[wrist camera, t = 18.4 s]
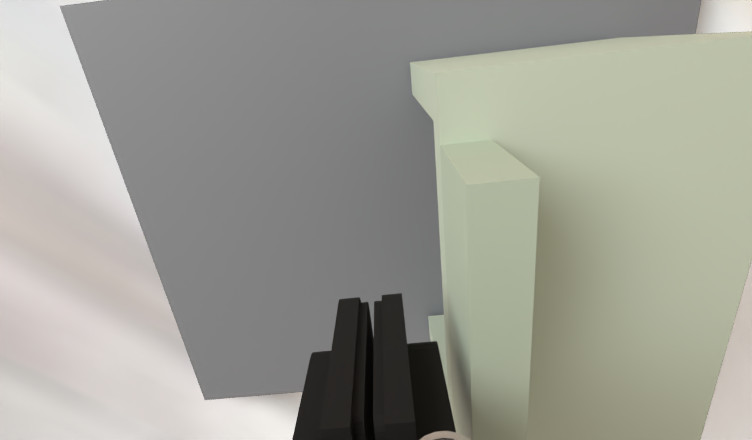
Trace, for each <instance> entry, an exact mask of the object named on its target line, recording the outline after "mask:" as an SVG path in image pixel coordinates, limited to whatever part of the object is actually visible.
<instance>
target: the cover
mask: <svg viewBox="0 0 752 440" xmlns="http://www.w3.org/2000/svg"><path fill="white" fill-rule="evenodd" d="M410 70H411V84H412V95H413V96H414V97H415V98H416V100H417V101H418V102H419V103H420V105H421V106H422V107H423V108H424V110H425V111H426V112H427V113H428V115H429V116H430V117H431V118H432V120H433V123H434V141H435V160H436V178H437V197H438V216H439V234H440V253H441V271H442V290H443V308H444V315H435V316H428V320H429V334H430V340H431V341H437V343H438V347H439V352H440V357H441V362H442V367H443V372H444V376H445V381H446V386H447V391H448V396H449V400H450V405H451V410H452V415H453V420H454V424H455V429H456V433H459V434H461V435H463V436H465V437H467V438H469V439H471V440H700V439H701V435H702V432H703V428H704V425H705V421H706V418H707V414H708V411H709V407H710V404H711V400H712V397H713V393H714V390H715V386H716V383H717V379H718V376H719V372H720V369H721V365H722V362H723V358H724V355H725V351H726V348H727V344H728V341H729V337H730V334H731V330H732V327H733V323H734V320H735V316H736V313H737V310H738V306H739V303H740V299H741V296H742V292H743V289H744V285H745V282H746V278H747V275H748V271H749V268H750V264H751V261H752V31H751V32H729V33H707V34H686V35H664V36H643V37H621V38H612V39H603V40H595V41H586V42H578V43H569V44H561V45H552V46H544V47H535V48H527V49H518V50H510V51H501V52H493V53H484V54H476V55H467V56H459V57H450V58H442V59H433V60H425V61H416V62H410Z"/></svg>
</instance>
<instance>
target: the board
mask: <svg viewBox="0 0 752 440" xmlns="http://www.w3.org/2000/svg"><path fill="white" fill-rule="evenodd" d="M700 4H701V0H104V1H96V2H89V3H81V4H73V5H65V6H60V8H61V11H62V13H63V16H64V19H65V22H66V24H67V27H68V30H69V32H70V35H71V38H72V41H73V43H74V46H75V49H76V51H77V54H78V57H79V60H80V62H81V65H82V68H83V70H84V73H85V76H86V79H87V81H88V84H89V87H90V89H91V92H92V95H93V98H94V100H95V103H96V106H97V108H98V111H99V114H100V117H101V119H102V122H103V125H104V127H105V130H106V133H107V136H108V138H109V141H110V144H111V146H112V149H113V152H114V155H115V157H116V160H117V163H118V165H119V168H120V171H121V174H122V176H123V179H124V182H125V184H126V187H127V190H128V193H129V195H130V198H131V201H132V203H133V206H134V209H135V212H136V214H137V217H138V220H139V222H140V225H141V228H142V231H143V233H144V236H145V239H146V241H147V244H148V247H149V250H150V252H151V255H152V258H153V260H154V263H155V266H156V269H157V271H158V274H159V277H160V279H161V282H162V285H163V288H164V290H165V293H166V296H167V298H168V301H169V304H170V307H171V309H172V312H173V315H174V317H175V320H176V323H177V326H178V328H179V331H180V334H181V336H182V339H183V342H184V345H185V347H186V350H187V353H188V355H189V358H190V361H191V364H192V366H193V369H194V372H195V374H196V377H197V380H198V383H199V385H200V388H201V391H202V393H203V396H204V399H205V400H211V399H223V398H235V397H247V396H259V395H271V394H283V393H295V392H303V389H304V384H305V379H306V375H307V370H308V365H309V361H310V357H311V354H312V353H313V352H321V351H331V349H332V342H333V335H334V329H335V322H336V315H337V309H338V302H339V299H346V298H356V297H360V300H361V303H362V302H368V303H369V309H370V316H371V323H372V330H373V337H374V301H382V295H387V294H398V293H402V300H403V309H404V319H405V328H406V338H407V344H409V343H420V342H431V340H430V334H429V320H428V316H435V315H444V308H443V290H442V271H441V253H440V234H439V216H438V197H437V178H436V160H435V141H434V123H433V120H432V118H431V117H430V116H429V115H428V113H427V112H426V111H425V110H424V108H423V107H422V106H421V105H420V103H419V102H418V101H417V100H416V98H415V97H414V96H413V95H412V84H411V70H410V62H416V61H425V60H433V59H442V58H450V57H459V56H467V55H476V54H484V53H493V52H501V51H510V50H518V49H527V48H535V47H544V46H552V45H561V44H569V43H578V42H586V41H595V40H603V39H612V38H621V37H643V36H664V35H686V34H695V32H696V27H697V21H698V15H699V10H700Z"/></svg>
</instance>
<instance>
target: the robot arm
mask: <svg viewBox="0 0 752 440" xmlns="http://www.w3.org/2000/svg"><path fill="white" fill-rule="evenodd" d="M293 440H471V439H469V438H467V437H465V436H463V435H461V434H459V433H456V429H455V424H454V420H453V415H452V410H451V405H450V400H449V396H448V391H447V386H446V381H445V376H444V372H443V367H442V362H441V357H440V352H439V347H438V343H437V341H431V342H420V343H409V344H407V338H406V328H405V319H404V309H403V300H402V293H398V294H387V295H382V301H374V337H373V330H372V323H371V316H370V309H369V303H368V302H362V303H361V300H360V297H356V298H346V299H339V302H338V309H337V315H336V322H335V329H334V335H333V342H332V349H331V351H321V352H313V353H312V354H311V357H310V361H309V365H308V370H307V375H306V379H305V384H304V389H303V393H302V398H301V403H300V407H299V412H298V417H297V421H296V426H295V431H294V435H293Z"/></svg>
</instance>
